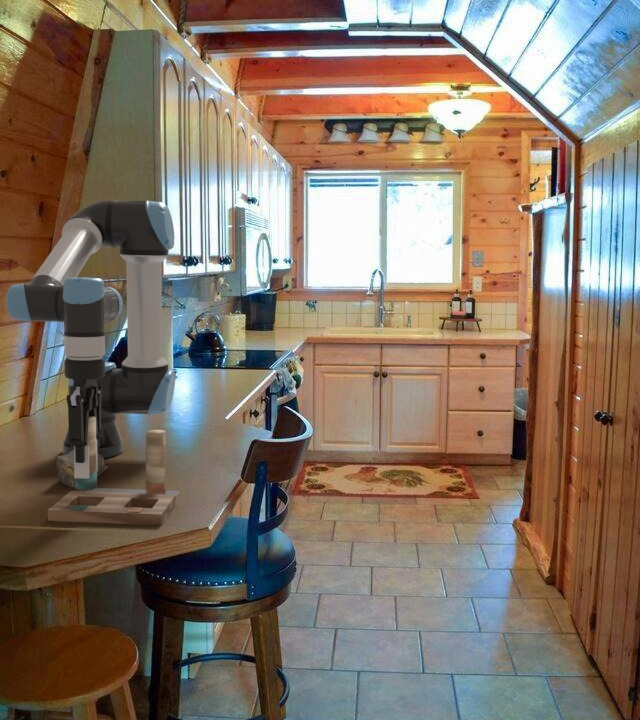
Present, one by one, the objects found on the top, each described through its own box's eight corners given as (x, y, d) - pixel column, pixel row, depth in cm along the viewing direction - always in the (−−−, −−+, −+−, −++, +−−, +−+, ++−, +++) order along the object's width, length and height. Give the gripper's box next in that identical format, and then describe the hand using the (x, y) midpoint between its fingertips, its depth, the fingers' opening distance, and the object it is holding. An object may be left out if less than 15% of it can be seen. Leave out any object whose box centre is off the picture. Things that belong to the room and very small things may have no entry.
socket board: (70, 502, 154) (70, 489, 154) (175, 506, 154) (175, 493, 153) (47, 522, 143) (47, 508, 142) (161, 526, 142) (161, 513, 142)
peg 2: (148, 492, 161) (148, 429, 159) (167, 493, 161) (167, 430, 159) (143, 498, 157) (143, 433, 155) (162, 499, 157) (162, 434, 155)
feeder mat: (90, 489, 163) (90, 487, 163) (180, 492, 163) (180, 491, 163) (77, 501, 155) (77, 499, 155) (172, 504, 155) (172, 502, 155)
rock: (99, 470, 162) (53, 459, 161) (91, 499, 163) (45, 487, 162) (114, 448, 179) (73, 437, 178) (107, 474, 180) (66, 463, 179)
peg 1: (99, 484, 149) (99, 416, 148) (92, 490, 145) (92, 420, 144) (79, 483, 150) (78, 415, 148) (72, 489, 145) (71, 419, 144)
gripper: (81, 351, 153) (82, 462, 156) (48, 362, 136) (50, 486, 139) (117, 353, 153) (118, 463, 155) (88, 363, 136) (90, 488, 139)
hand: (86, 474), depth 147 cm, fingers closed on peg 1, 4 cm apart
